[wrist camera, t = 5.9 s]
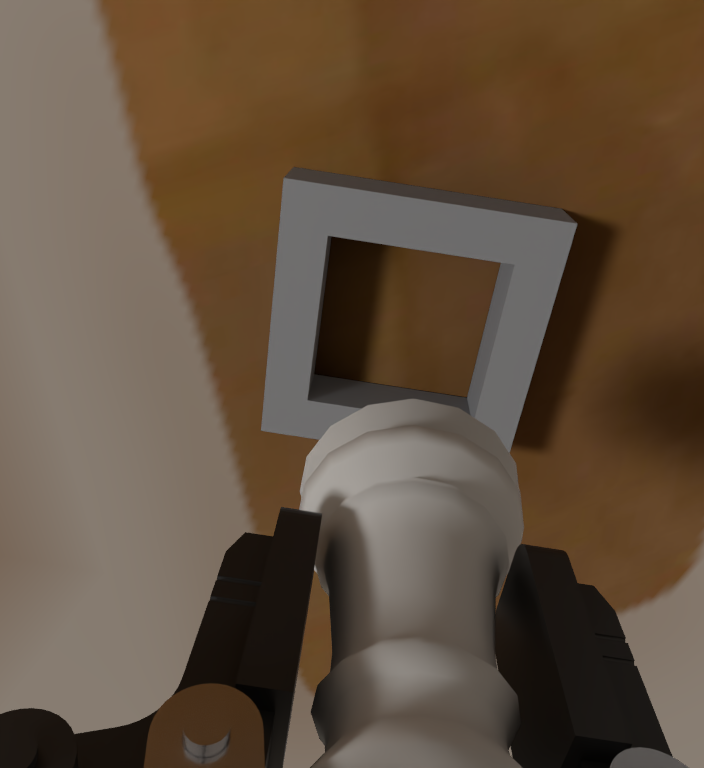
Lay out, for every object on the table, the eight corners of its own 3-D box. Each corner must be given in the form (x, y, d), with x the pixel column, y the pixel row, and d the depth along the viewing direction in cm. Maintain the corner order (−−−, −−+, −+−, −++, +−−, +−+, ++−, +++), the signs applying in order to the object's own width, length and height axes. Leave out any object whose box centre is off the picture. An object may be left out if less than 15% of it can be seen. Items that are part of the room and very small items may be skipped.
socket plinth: (293, 166, 21) (283, 177, 19) (561, 208, 21) (577, 223, 19) (271, 402, 24) (261, 430, 23) (497, 437, 24) (505, 467, 23)
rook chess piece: (456, 589, 15) (511, 1071, 8) (274, 522, 15) (154, 973, 7) (557, 436, 13) (749, 890, 6) (350, 353, 13) (290, 741, 5)
